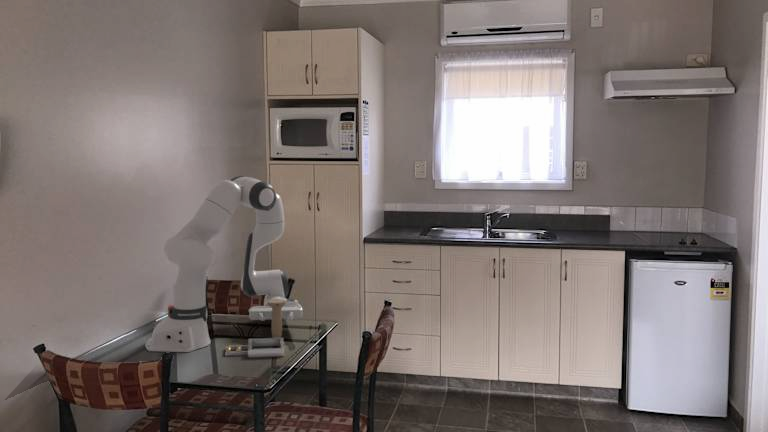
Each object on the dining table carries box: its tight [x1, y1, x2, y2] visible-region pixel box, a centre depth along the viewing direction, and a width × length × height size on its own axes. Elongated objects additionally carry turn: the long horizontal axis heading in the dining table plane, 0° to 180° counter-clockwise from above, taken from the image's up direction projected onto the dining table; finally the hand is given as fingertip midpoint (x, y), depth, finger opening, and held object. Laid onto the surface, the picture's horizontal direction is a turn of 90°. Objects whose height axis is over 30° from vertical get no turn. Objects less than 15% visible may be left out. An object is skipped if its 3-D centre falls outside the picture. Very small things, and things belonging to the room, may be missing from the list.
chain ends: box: [224, 337, 285, 359], centre depth 232 cm, size 20×12×3 cm, turn 101°
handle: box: [268, 299, 286, 338], centre depth 244 cm, size 5×6×15 cm
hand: (276, 318), depth 245 cm, fingers open, 8 cm apart
